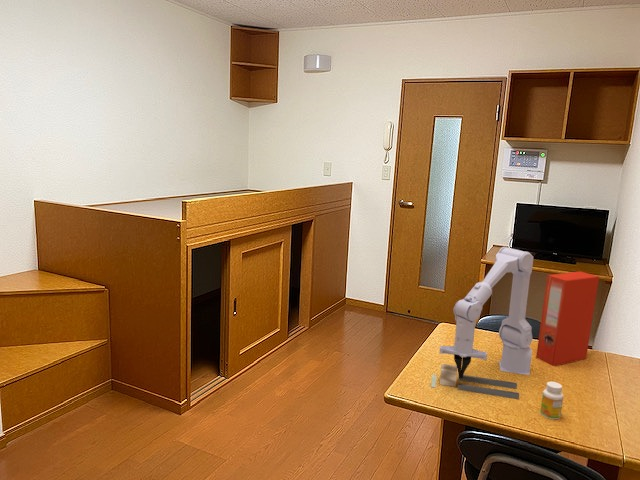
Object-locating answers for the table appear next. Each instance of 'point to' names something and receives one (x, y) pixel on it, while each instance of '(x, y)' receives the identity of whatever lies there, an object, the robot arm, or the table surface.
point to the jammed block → (448, 375)
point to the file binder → (567, 317)
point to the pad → (433, 381)
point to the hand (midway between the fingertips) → (460, 376)
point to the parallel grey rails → (488, 390)
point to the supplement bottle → (552, 401)
